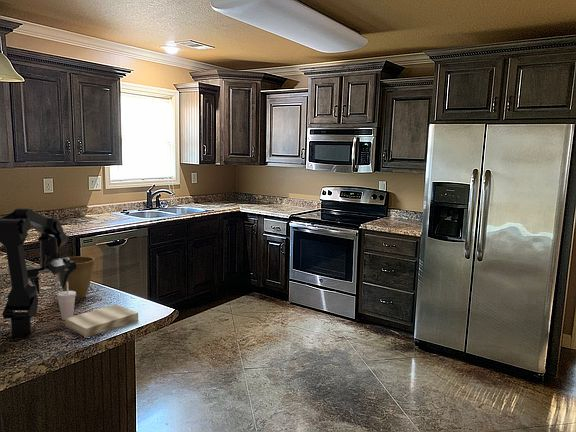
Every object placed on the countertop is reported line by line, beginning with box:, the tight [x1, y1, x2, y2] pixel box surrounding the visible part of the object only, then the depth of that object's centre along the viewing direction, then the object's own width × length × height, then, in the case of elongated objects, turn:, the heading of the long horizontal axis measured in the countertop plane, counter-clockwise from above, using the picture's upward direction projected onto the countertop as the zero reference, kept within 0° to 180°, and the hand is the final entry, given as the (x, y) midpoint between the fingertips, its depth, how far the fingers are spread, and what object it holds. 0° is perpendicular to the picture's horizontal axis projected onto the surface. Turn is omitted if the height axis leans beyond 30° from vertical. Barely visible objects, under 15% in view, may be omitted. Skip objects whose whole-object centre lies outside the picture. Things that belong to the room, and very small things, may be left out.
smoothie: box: [56, 282, 76, 321], centre depth 163 cm, size 6×6×14 cm
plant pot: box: [56, 255, 95, 300], centre depth 188 cm, size 15×15×16 cm
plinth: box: [64, 303, 139, 338], centre depth 160 cm, size 20×14×3 cm
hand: (50, 290), depth 170 cm, fingers open, 9 cm apart
